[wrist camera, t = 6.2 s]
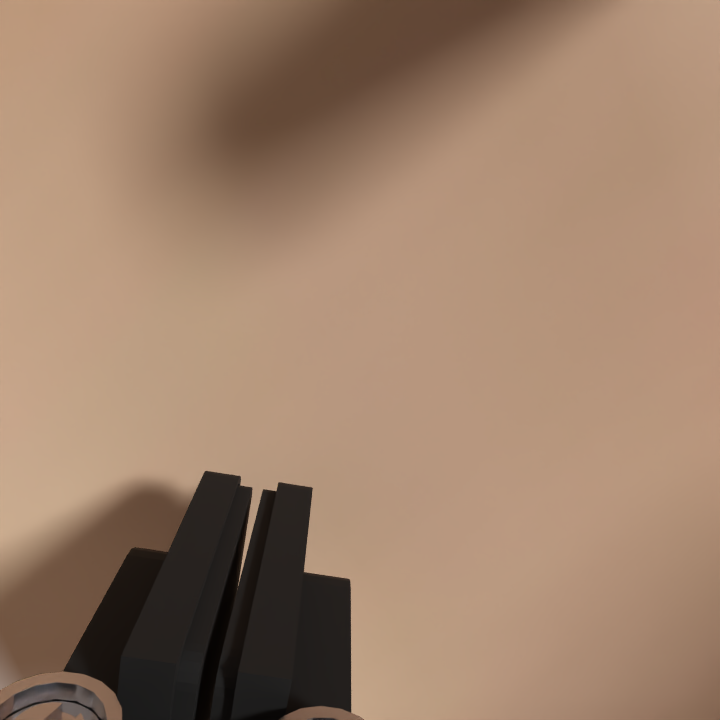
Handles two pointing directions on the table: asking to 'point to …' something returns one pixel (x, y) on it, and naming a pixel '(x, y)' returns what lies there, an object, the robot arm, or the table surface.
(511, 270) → the table surface
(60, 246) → the table surface
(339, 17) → the table surface
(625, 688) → the table surface
